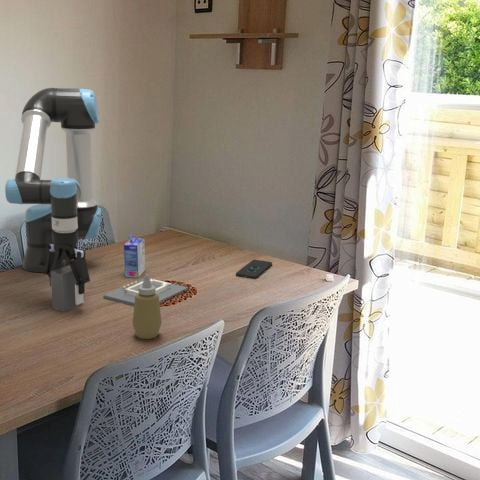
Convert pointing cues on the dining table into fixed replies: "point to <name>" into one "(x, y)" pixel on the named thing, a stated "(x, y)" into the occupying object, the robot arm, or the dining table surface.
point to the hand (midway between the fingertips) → (67, 300)
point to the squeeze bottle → (147, 311)
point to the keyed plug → (63, 289)
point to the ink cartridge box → (134, 257)
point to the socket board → (131, 290)
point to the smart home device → (254, 269)
